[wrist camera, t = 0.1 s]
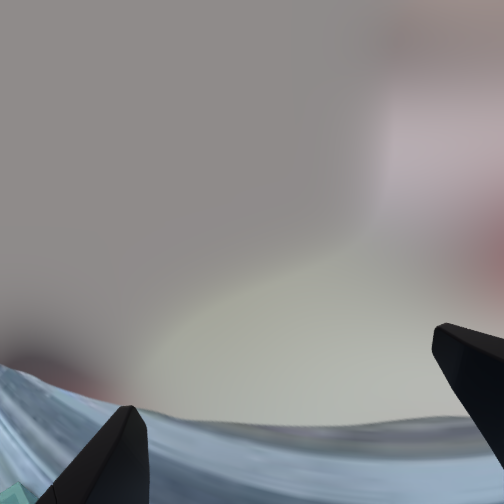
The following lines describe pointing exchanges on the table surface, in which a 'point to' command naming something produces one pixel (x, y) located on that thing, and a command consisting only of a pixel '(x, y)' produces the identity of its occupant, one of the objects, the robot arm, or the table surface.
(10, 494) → the teal socket
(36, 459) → the table surface
